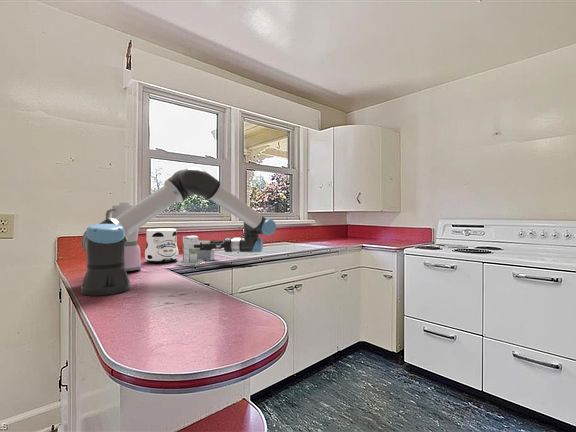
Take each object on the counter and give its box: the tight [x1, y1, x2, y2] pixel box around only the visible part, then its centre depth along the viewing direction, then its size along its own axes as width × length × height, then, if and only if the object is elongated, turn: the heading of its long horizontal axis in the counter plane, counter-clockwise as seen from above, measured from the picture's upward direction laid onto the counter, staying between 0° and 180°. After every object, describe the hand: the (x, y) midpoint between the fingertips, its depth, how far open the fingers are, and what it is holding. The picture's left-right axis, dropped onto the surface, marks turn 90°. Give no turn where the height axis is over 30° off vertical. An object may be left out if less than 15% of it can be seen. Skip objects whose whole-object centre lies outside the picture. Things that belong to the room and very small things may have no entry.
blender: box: [105, 202, 142, 272], centre depth 147 cm, size 16×12×32 cm
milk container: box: [144, 228, 179, 264], centre depth 176 cm, size 17×17×18 cm
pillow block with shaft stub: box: [198, 249, 217, 261], centre depth 182 cm, size 6×12×10 cm, turn 84°
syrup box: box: [182, 235, 199, 263], centre depth 168 cm, size 6×6×14 cm
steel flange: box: [175, 259, 205, 267], centre depth 168 cm, size 12×12×2 cm
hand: (193, 244), depth 168 cm, fingers open, 13 cm apart
